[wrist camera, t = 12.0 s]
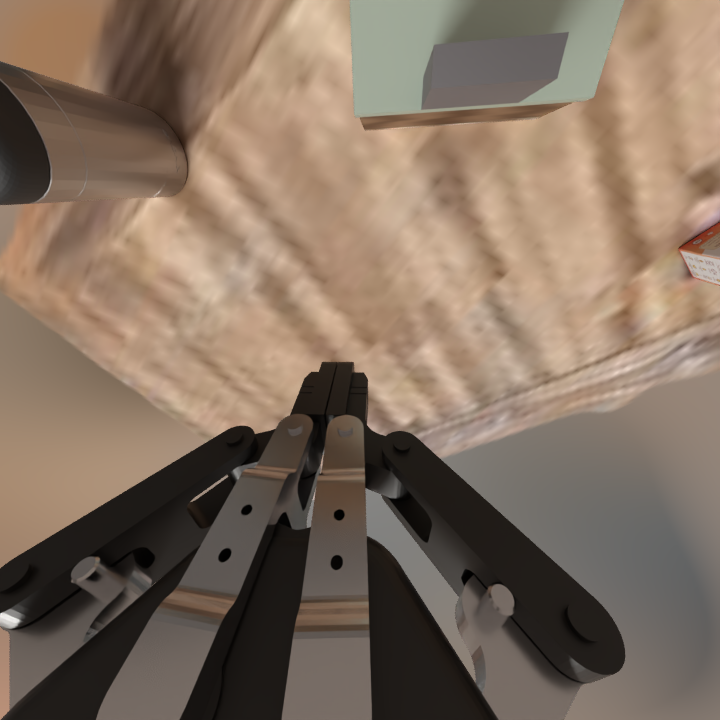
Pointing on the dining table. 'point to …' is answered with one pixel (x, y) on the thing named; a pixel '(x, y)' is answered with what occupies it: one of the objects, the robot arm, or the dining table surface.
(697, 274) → the cracker box
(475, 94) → the lid
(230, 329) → the dining table surface
